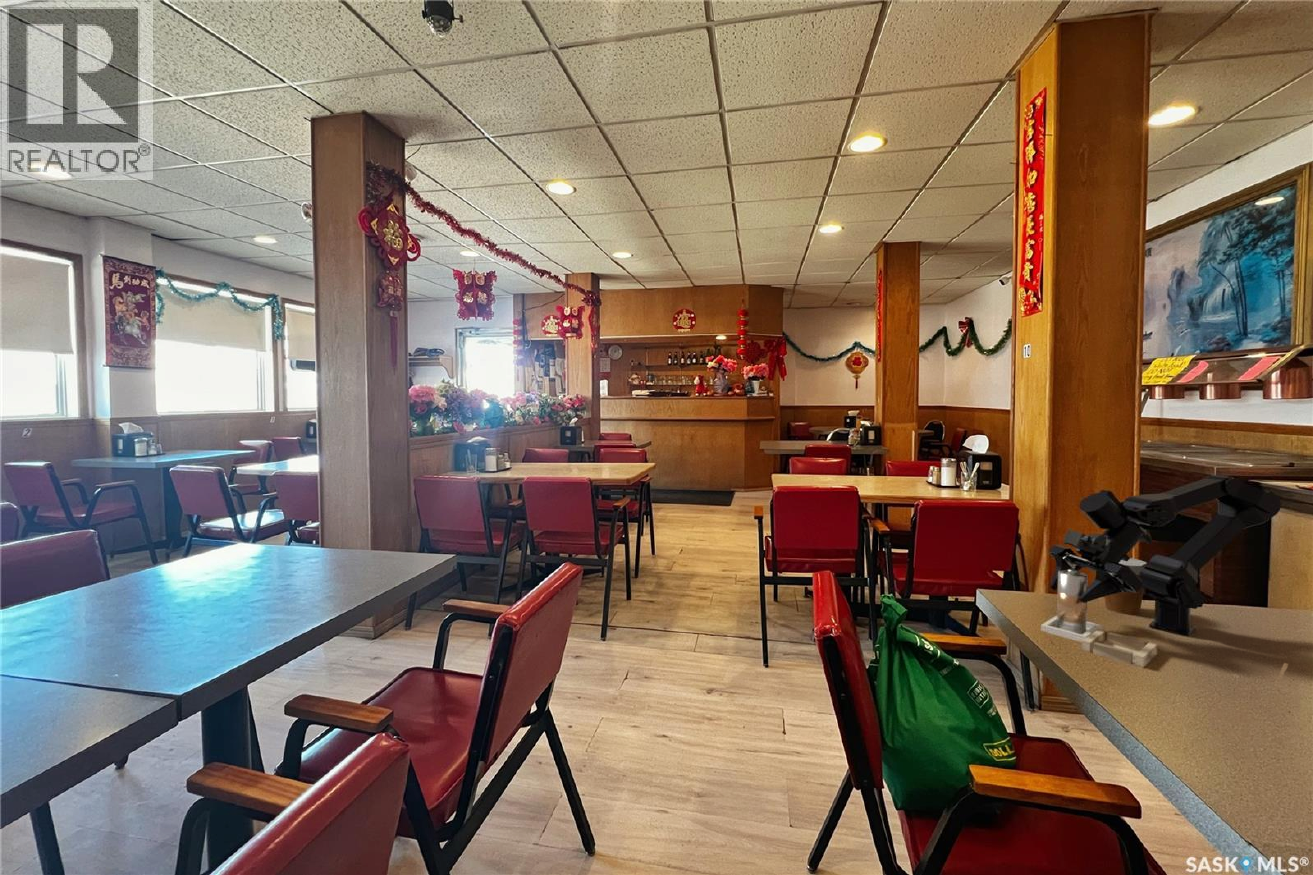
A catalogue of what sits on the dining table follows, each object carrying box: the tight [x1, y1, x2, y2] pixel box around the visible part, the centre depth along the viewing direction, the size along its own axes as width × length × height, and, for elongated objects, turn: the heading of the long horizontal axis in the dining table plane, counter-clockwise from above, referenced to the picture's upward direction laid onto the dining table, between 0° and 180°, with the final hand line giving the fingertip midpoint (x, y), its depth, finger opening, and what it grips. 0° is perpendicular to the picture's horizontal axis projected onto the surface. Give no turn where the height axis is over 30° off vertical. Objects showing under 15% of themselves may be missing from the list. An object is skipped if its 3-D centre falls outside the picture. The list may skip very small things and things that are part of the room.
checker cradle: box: [1081, 629, 1158, 669], centre depth 109 cm, size 9×9×2 cm
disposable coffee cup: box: [1103, 557, 1147, 615], centre depth 133 cm, size 10×10×12 cm
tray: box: [1040, 615, 1103, 643], centre depth 120 cm, size 10×8×2 cm
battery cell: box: [1056, 569, 1088, 635], centre depth 119 cm, size 5×5×13 cm
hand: (1065, 594), depth 119 cm, fingers open, 8 cm apart
